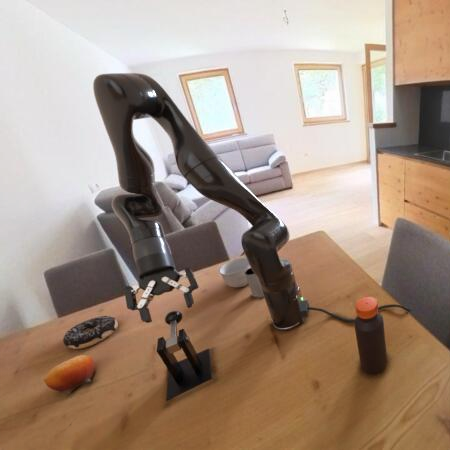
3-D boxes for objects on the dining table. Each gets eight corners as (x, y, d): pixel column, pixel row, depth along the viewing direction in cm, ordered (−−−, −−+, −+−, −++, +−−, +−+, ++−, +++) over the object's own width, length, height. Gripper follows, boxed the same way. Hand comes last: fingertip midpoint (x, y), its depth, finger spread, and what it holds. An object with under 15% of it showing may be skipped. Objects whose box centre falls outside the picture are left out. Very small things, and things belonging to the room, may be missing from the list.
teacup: (244, 293, 99) (238, 274, 95) (219, 290, 101) (211, 272, 98) (268, 270, 111) (263, 253, 108) (245, 268, 113) (239, 251, 110)
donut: (86, 354, 78) (78, 344, 76) (56, 347, 80) (48, 338, 79) (128, 324, 87) (122, 315, 86) (100, 319, 90) (94, 310, 88)
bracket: (170, 369, 72) (148, 333, 67) (210, 351, 77) (192, 316, 71) (168, 403, 64) (143, 366, 58) (213, 381, 69) (193, 344, 63)
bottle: (355, 367, 70) (344, 307, 61) (372, 348, 75) (364, 290, 66) (376, 381, 67) (368, 319, 58) (392, 360, 72) (387, 300, 63)
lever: (168, 321, 74) (162, 311, 72) (184, 315, 76) (179, 305, 74) (167, 357, 65) (160, 347, 63) (185, 349, 66) (179, 339, 65)
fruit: (58, 403, 64) (35, 376, 63) (61, 399, 69) (40, 374, 68) (104, 375, 70) (85, 349, 69) (104, 373, 75) (86, 349, 74)
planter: (269, 293, 98) (262, 269, 94) (258, 300, 95) (249, 276, 90) (262, 289, 100) (254, 265, 96) (250, 296, 97) (241, 272, 93)
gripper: (111, 263, 68) (127, 326, 64) (182, 244, 75) (199, 300, 71) (125, 271, 74) (140, 329, 70) (189, 253, 81) (205, 304, 78)
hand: (170, 314), depth 71 cm, fingers open, 8 cm apart
